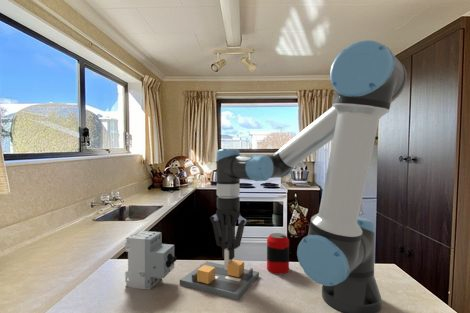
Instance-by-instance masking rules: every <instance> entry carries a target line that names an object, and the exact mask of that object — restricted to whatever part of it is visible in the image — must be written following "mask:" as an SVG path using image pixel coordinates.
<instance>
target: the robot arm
mask: <svg viewBox="0 0 470 313" xmlns="http://www.w3.org/2000/svg"><path fill="white" fill-rule="evenodd" d="M329 73H330V74H329V79H330V83H331V86H332V87H333V88H332V89H334V95H333V100H332V106H331V107H330V108H328V109H327V110H326V111H324V112H323V113H322V114H321V115H320V116H318V117H317V118H316V119H314V120H313V121H312V122H311V123H309V125H308V126H306V127H304V129H302V130H301V131H299V133H297V134H296V135H294V137H292V138H291V139H290V140H289V141H287V142H286V143H285V144H284V145H282V146H281V147H279V149H278V150H276V151H275V152H274V153H272V154H270V155H269V154H253V155H252V154H250V155H249V154H248V155H247V154H244V155H241V154H240V150H239V149H237V148H235V149H234V148H226V149H225V148H224V149H223V148H221V149H218V150H217V151H216V161H215V162H216V163H215V164H216V196H217V197H216V212H215V214H213V215H211V216H209V220H210V222H211V224H212V229H213V233H214V238H215V242H216V246H217V247H219V248H221V253H222V254H221V257H222V259H224V260H223V262H224V263H223V265H224V269H225V270H228V263H229V262H231V261H232V260H234V259H235V249H238V248H239V247H241V242H242V238H243V234H244V231H245V230H244V229H245V225H246V224H247V223H248V218H244V217H243V216H242V215H241V212H240V209H241V208H240V206H241V204H240V201H241V200H240V199H241V197H240V195H241V194H240V180H247V181H248V180H249V181H254V182H265V181H268V180H269V179H274V178H275V179H277V178H283V177H287V176H289V175H290V174H291V173H292V171H293V169H294V167H296V166H297V165H299V164H300V163H302V162H303V161H304V160H305V159H307V158H309V157H310V156H312V155H313V154H314V153H316V152H317V151H319V150H320V149H321V148H323V147H324V146H325V145H327V144H329V143H330V142H331V141H332V143H331V148H330V153H329V157H328V163H327V164H328V165H327V169H326V173H325V180H324V184H323V189H322V193H321V199H320V204H319V210H318V213H317V214H314V215H312V216H311V218H310V222H309V227H308V233H307V235H306V236H304V237H303V238H302V239H301V240H300V242H299V244H298V245H297V248H296V249H297V250H296V256H297V260H298V263H299V266H300V267H301V268H302V269H303V272H304V273H305V275H306V276H307V277H308V278H309V279H310V280H312V281H313V282H315V283H317V284H319V285H321V297H322V299H323V301H324V302H325V303H326V304H327V305H328V306H331V308H334V309H335V310H338V311H340V312H343V313H379V312H380V311H381V309H382V295H381V292H380V289H379V286H378V284H377V280H376V278H375V277H376V276H375V235H376V231H375V223H374V222H373V221H372V220H370V219H367V218H365V217H364V218H363V217H359V216H360V211H361V206H362V201H363V196H364V191H365V187H366V182H367V178H368V173H369V169H370V164H371V158H372V156H373V151H374V150H373V149H374V145H375V142H376V141H375V140H376V135H377V131H378V127H379V122H380V119H381V118H383V116H384V115H387V114H388V113H389V112H390V109H391V104H392V102H394V101H395V100H396V99H397V98H398V97H399V96H400V95H401V94H402V93H403V91H404V89H405V86H406V83H407V81H408V80H407V79H408V78H407V77H408V76H407V70H406V68H405V66H404V64H403V63H402V62H401V61H400V60H399V59H398V58H397V57H396V56H395V55H394V54H393V52H392V50H391V49H390V48H389V47H388V46H386V45H385V44H382V43H381V42H378V41H375V40H370V39H369V40H359V41H357V42H353V43H351V44H349V45H347V46H346V47H345V48H344V49H343V50H342V51H340V52H339V54H337V56H336V57H335V58H334V60H333V62H332V64H331V67H330V71H329ZM237 222H238V225H236V224H237ZM236 226H237V229H236Z"/></svg>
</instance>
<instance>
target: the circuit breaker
mask: <svg viewBox="0 0 470 313" xmlns="http://www.w3.org/2000/svg"><path fill="white" fill-rule="evenodd" d="M162 234H163V233H162V231H161V232H160V231H145V230H142V231H141V230H139V231H137V232H135V233H133V234H131V235H129V236H127V237H125V239H126V242H125V244H124V246H125V247H124V249H125V250H124V251H125V252H126V253H127V270H126V271H125V272H124V273H125V274H124V275H125V288H127V287H129V288H133V289H142V290H143V289H144V290H151V289H152V288H153V287H154V286H155V285H156V284H157V283H158V282H159V281H160V280H161V279H164V278H165V277H166V276H167V275H168V274H169V273H171V271H173V270H174V269H175V262H177V256H175V244H168V243H163V242H162V240H163V238H162Z"/></svg>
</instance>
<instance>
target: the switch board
mask: <svg viewBox="0 0 470 313" xmlns="http://www.w3.org/2000/svg"><path fill="white" fill-rule="evenodd" d="M204 265H207V266H211V267H215V279H214V280H213V281H212V282H210V283H209V284H206V283H202V282H198V281H197V270H198V269H199V268H201V267H202V266H204ZM259 277H260V273H259V271H255V270H254V268H249V269H245V268H244V273H243V274H242V275H241V276H240V277H235V276H231V275H228V270H225V269H224V263H223V264H222V263H219V262H218V263H217V262H214V261H213V262H212V261H205V262H204V263H203V264H201V265H199V266H198V267H196V268H195V269H194V270H192V271H191V272H189V273H188V274H187V275H185V276H183V277H181V278H180V279H179V285H180V286H184V287H187V288H192V289H195V290H199V291H202V292H206V293H211V294H213V295H218V296H220V297H226V298H229V299H232V300H237V301H239V299H241V297H242V296H243V295H244V294H245V293H246V291H248V289H250V287H251V286H253V284H254V283H255V282H256V280H257V279H258V278H259Z"/></svg>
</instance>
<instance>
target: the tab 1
mask: <svg viewBox="0 0 470 313" xmlns="http://www.w3.org/2000/svg"><path fill="white" fill-rule="evenodd" d="M214 279H215V267H211V266H207V265H204V266H202V267H201V268H199V269H198V270H197V281H198V282H202V283H206V284H209V283H210V282H212V281H213V280H214Z"/></svg>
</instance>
